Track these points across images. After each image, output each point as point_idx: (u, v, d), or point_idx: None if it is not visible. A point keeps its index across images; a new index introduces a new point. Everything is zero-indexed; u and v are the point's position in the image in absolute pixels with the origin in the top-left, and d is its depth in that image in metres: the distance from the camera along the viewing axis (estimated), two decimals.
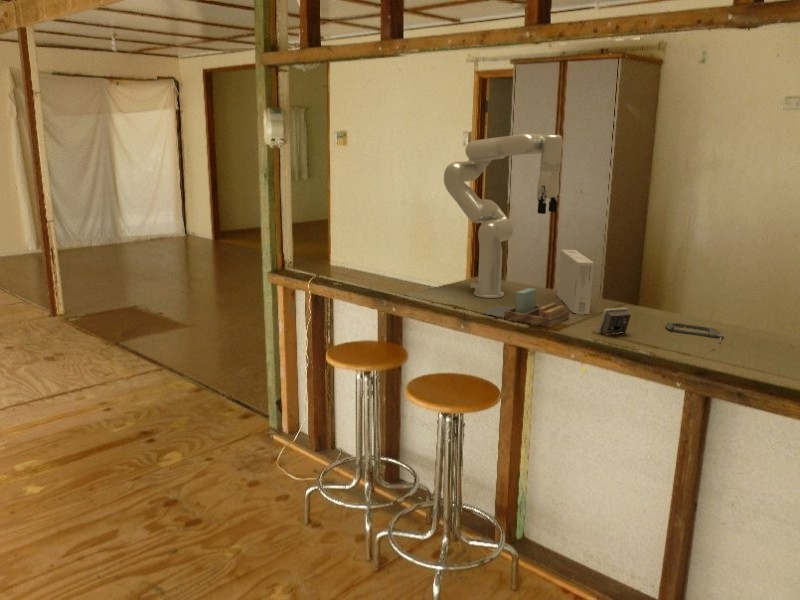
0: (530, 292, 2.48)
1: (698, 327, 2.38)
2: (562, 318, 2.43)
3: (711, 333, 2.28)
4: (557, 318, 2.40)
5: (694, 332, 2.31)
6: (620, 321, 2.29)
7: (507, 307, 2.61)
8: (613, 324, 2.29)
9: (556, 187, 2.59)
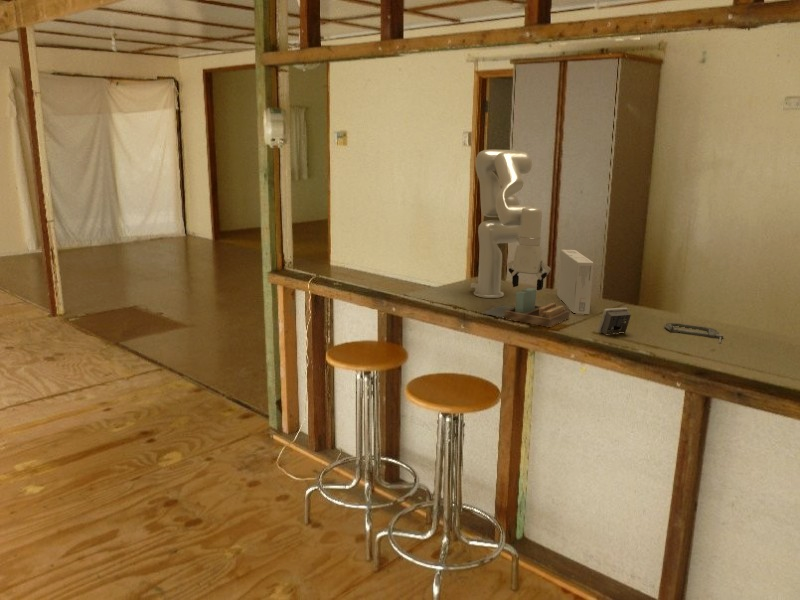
0: (530, 292, 2.48)
1: (697, 327, 2.38)
2: (562, 318, 2.43)
3: (711, 333, 2.28)
4: (557, 318, 2.40)
5: (694, 332, 2.31)
6: (620, 321, 2.29)
7: (507, 307, 2.61)
8: (613, 324, 2.29)
9: None
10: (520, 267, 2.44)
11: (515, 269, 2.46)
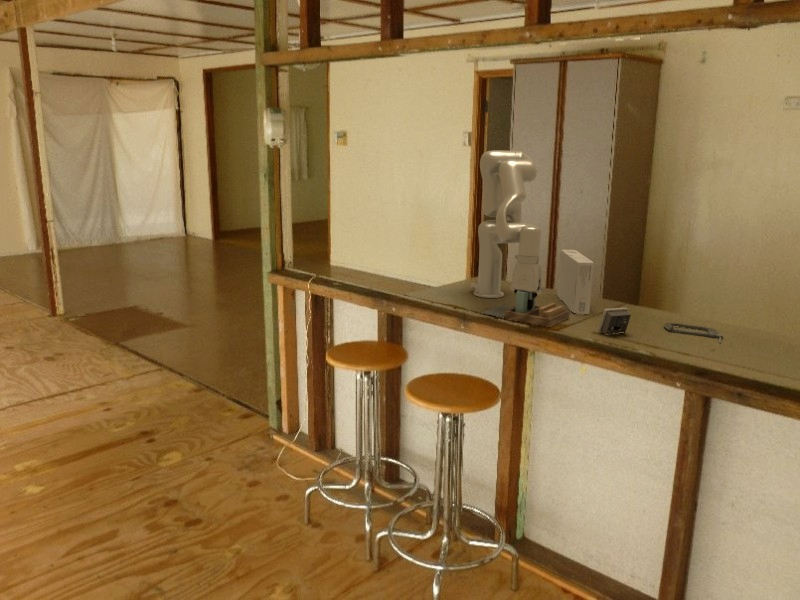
0: None
1: (696, 327, 2.38)
2: (562, 318, 2.43)
3: (710, 333, 2.28)
4: (557, 318, 2.40)
5: (693, 332, 2.30)
6: (620, 321, 2.29)
7: (507, 307, 2.61)
8: (613, 324, 2.29)
9: None
10: (518, 285, 2.46)
11: (513, 286, 2.48)
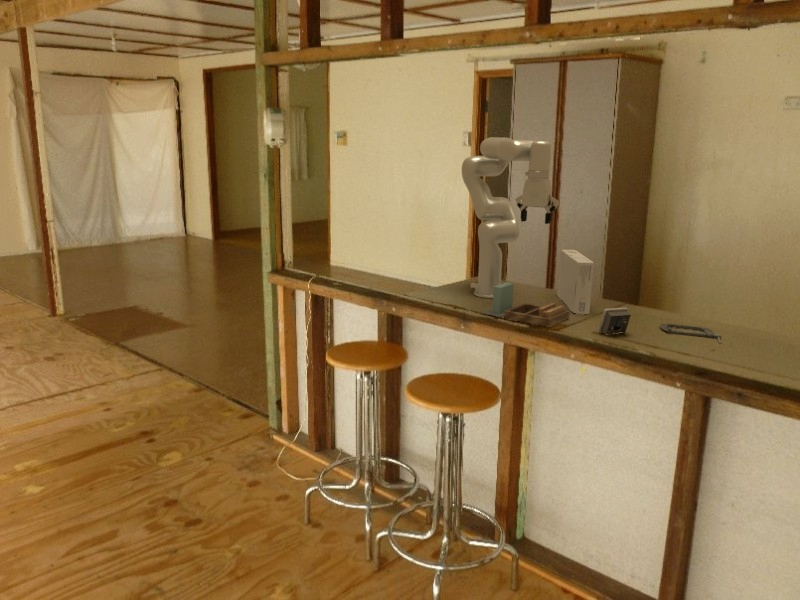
0: (507, 286, 2.53)
1: (692, 327, 2.37)
2: (562, 318, 2.43)
3: (708, 333, 2.28)
4: (557, 318, 2.40)
5: (691, 333, 2.30)
6: (620, 321, 2.29)
7: None
8: (613, 324, 2.29)
9: None
10: (529, 201, 2.47)
11: (524, 203, 2.48)
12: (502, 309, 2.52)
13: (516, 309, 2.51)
